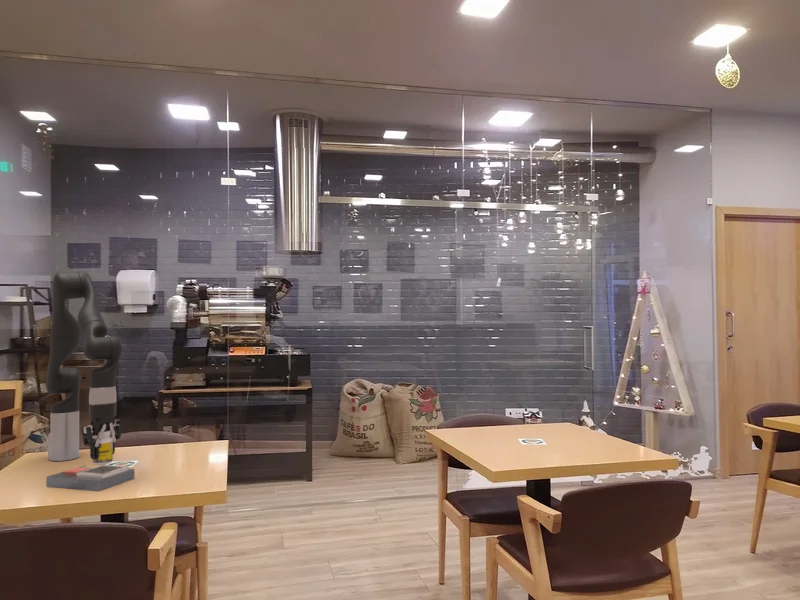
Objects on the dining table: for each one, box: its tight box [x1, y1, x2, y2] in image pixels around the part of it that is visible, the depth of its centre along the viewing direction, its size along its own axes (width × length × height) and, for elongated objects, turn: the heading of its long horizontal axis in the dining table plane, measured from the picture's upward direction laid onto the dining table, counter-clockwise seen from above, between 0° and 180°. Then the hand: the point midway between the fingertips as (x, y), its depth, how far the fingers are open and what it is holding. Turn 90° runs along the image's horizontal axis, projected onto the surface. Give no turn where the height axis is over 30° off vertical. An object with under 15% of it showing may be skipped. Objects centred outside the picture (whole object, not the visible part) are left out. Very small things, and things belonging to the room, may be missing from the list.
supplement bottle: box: [92, 431, 114, 466], centre depth 175 cm, size 5×5×10 cm
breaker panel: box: [45, 464, 135, 492], centre depth 176 cm, size 20×14×4 cm
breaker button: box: [63, 466, 90, 475], centre depth 178 cm, size 5×5×4 cm
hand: (102, 456), depth 175 cm, fingers closed on supplement bottle, 5 cm apart
